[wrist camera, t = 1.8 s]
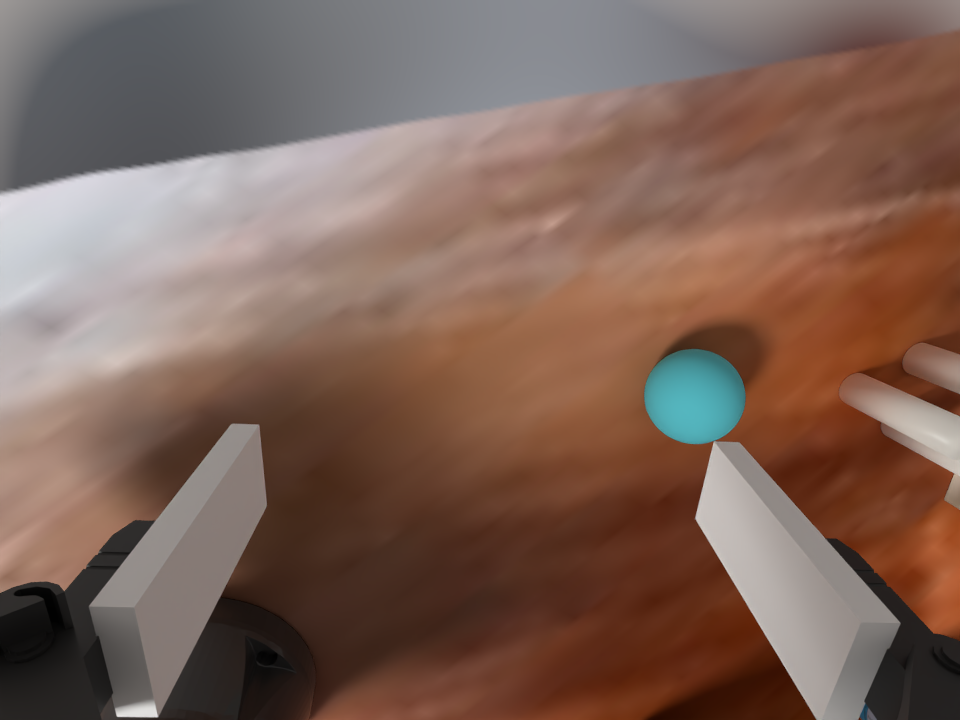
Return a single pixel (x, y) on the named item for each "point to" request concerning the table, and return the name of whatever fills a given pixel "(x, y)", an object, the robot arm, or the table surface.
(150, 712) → the robot arm
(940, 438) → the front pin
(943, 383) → the pin
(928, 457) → the pin
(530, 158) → the table surface
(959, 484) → the back wall
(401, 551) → the table surface
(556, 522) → the table surface
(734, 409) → the ball
